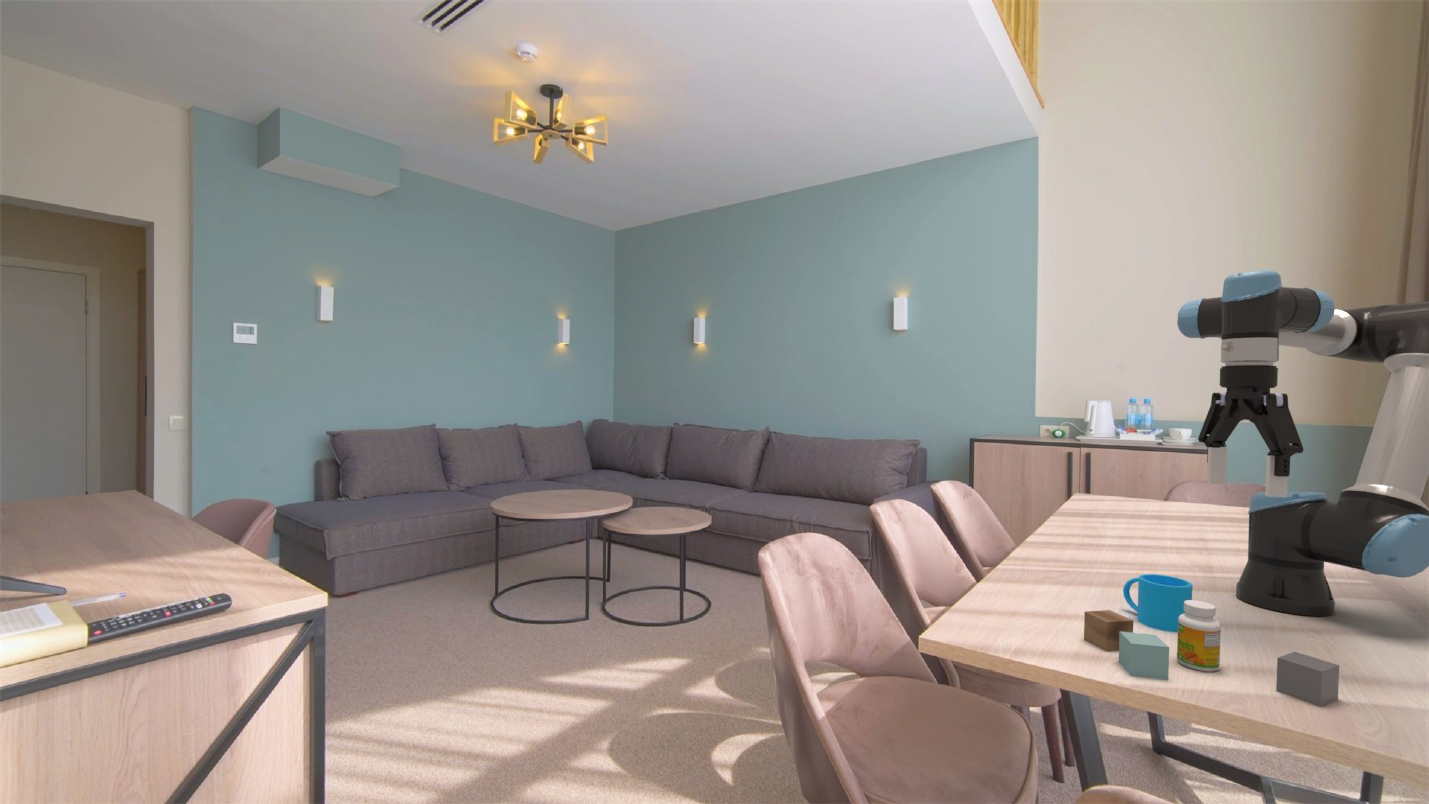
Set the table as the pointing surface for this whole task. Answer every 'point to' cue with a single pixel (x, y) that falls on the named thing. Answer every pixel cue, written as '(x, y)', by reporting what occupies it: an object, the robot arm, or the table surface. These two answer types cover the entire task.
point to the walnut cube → (1105, 628)
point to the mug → (1159, 600)
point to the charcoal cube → (1307, 678)
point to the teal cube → (1143, 655)
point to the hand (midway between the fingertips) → (1244, 489)
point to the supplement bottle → (1199, 637)
